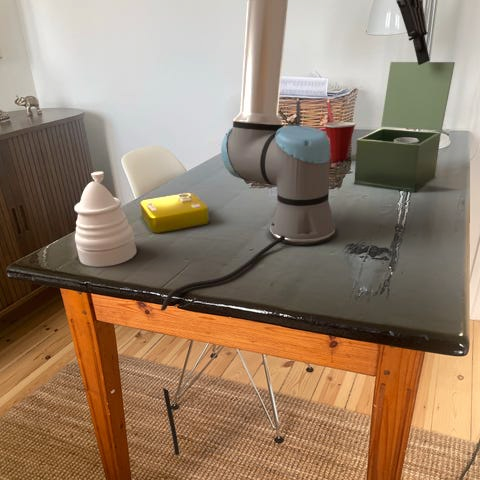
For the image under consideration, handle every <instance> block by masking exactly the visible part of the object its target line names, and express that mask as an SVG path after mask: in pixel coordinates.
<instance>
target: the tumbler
mask: <svg viewBox="0 0 480 480" xmlns="http://www.w3.org/2000/svg"><path fill="white" fill-rule="evenodd" d="M394 142H399V143H410V144H419V140H418V139H416V138H397V139H394Z"/></svg>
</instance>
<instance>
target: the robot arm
mask: <svg viewBox="0 0 480 480" xmlns="http://www.w3.org/2000/svg"><path fill="white" fill-rule="evenodd" d="M395 1H396V4H397V6H398V9H399V11H400V15H401V17H402V20H403V24H404V27H405V30H406V33H407V36H408V41H409V42H410V41H412V43H413V47H414V52H415V56H416V60H417V61H416V62H418V65H421V64H423V63H425V62H431V58H430V55H429V51H428V46H427V41H426V36H427V35H428V31H427V25H426V17H425V10H424V0H395ZM288 5H289V0H247V5H246V19H245V33H244V34H245V35H244V47H243V48H244V49H243V53H244V54H243V65H242V80H241V94H240V95H241V96H240V97H241V99H240V111H239V113H238V114H237V115H236V116H235V117H234V118H233V120H232V127H231V128H229V129H228V130H227V131H226V132H225V135H224V136H223V138H222V140H221V145H220V155H221V159H222V163H223V165H224V167H225V169H226V170H227V172H228V173H229V174H230V175H231V176H233V177H235V178H238V179H241V180H243V181H246V182H251V181H252V182H255V183H261V184H265V185H271V186H275V187H276V194H277V195H276V198H277V199H276V205H275V208H274V212H273V215H272V219H271V222H270V227H269V233H270V234H269V235H270V237H271V238H272V239H273V240H274V241H271V242H270V243H269V244H268V245H266V246H265V247H263V248H262V249H261V250H260V251H258V252H257V253H256V254H255V255H253V256H252V257H251V258H250V259H249V260H248V261H246V262H245V263H243V264H242V265H240V266H239V267H238V268H236V269H235V270H233V271H232V272H230V273H228V274H226V275H223V276H220V277H217V278H213V279H206V280H199V281H193V282H190V283H187V284H185V285H182V286H179V287H177V288H174V289H173V290H171V291H170V292H168V293H167V295H166V296H165V299H164V301H163V303H162V305H161V307H160V311H162V312H163V311H166V310H167V308H168V305H169V303H170V301H172V298H174V296H176V295H178V294H179V293H182V292H184V291H186V290H189V289H193V288H196V287H201V286H208V285H209V286H210V285H215V284H219V283H223V282H225V281H227V280H230V279H232V278H233V277H235V276H237V275H239V274H240V273H241V272H243V271H244V270H246V269H247V268H249V267H250V266H251V265H253V264H254V263H255V262H256V261H257V260H258V259H259V258H260V257H262V256H263V255H265V254H266V253H267V252H268V251H270V250H271V249H273V248H274V247H275V246H277V245H278V244H279V243H281V244H285V245H291V246H312V245H318V244H321V243H326V242H328V241H330V240H332V239H333V238H334V237H335V236H336V222H335V220H334V216H333V212H332V209H331V206H330V202H329V196H330V195H329V194H330V193H329V192H330V173H331V172H330V170H331V160H330V158H331V152H330V140H329V138H328V136H327V134H326V131H324V130H321V129H319V128H316V127H313V126H308V125H307V126H306V125H286V126H284V122H283V120H282V119H281V118H280V116H279V103H280V95H281V93H280V92H281V82H282V71H283V61H284V51H285V50H284V49H285V36H286V28H287V27H286V26H287V16H288ZM162 390H163V396H164V401H165V407H166V412H167V417H168V421H169V427H170V430H171V435H172V436H171V437H172V443H173V449H174V455H175V456H179V455H180V448H179V442H178V434H177V429H176V425H175V420H174V415H173V410H172V404H171V398H170V393H169V390H168V389H167V388H165V387H162Z"/></svg>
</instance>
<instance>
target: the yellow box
mask: <svg viewBox="0 0 480 480" xmlns="http://www.w3.org/2000/svg"><path fill="white" fill-rule="evenodd" d="M140 209H141V210H140V211H141V216H142V217H141V218H142V219H143V220H144V222H145V224H146V225H147V226H148V227H149V229H150V231H151V232H152V233H155V234H162V233H167V232H172V231H173V232H174V231H178V230H183V229H188V228H193V227H198V226H205V225H207V224H208V223H209V221H210V219H209V207H208V205H207V204H206V203H205V202H204V201H202V200H201V199H200V197H199V196H197V195H196V194H195V193H193V192H184V193H179V194H173V195H167V196H162V197H160V196H159V197H154V198H150V199H143V200H142V201H140Z"/></svg>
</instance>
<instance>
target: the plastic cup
mask: <svg viewBox="0 0 480 480" xmlns="http://www.w3.org/2000/svg"><path fill="white" fill-rule="evenodd" d="M356 125H357V123H356V122H353V121H338V122H327V123H324V124H323V127H324V129H325V130H324V131H325V133H326V134H327V136H328V138H329V140H330V152H331V158H330V161H332V162H343V161H347V159H348V157H349V151H350V149H351V148H350V147H351V143H352V139H353V138H352V137H353V133H354V130H355V127H356Z"/></svg>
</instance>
